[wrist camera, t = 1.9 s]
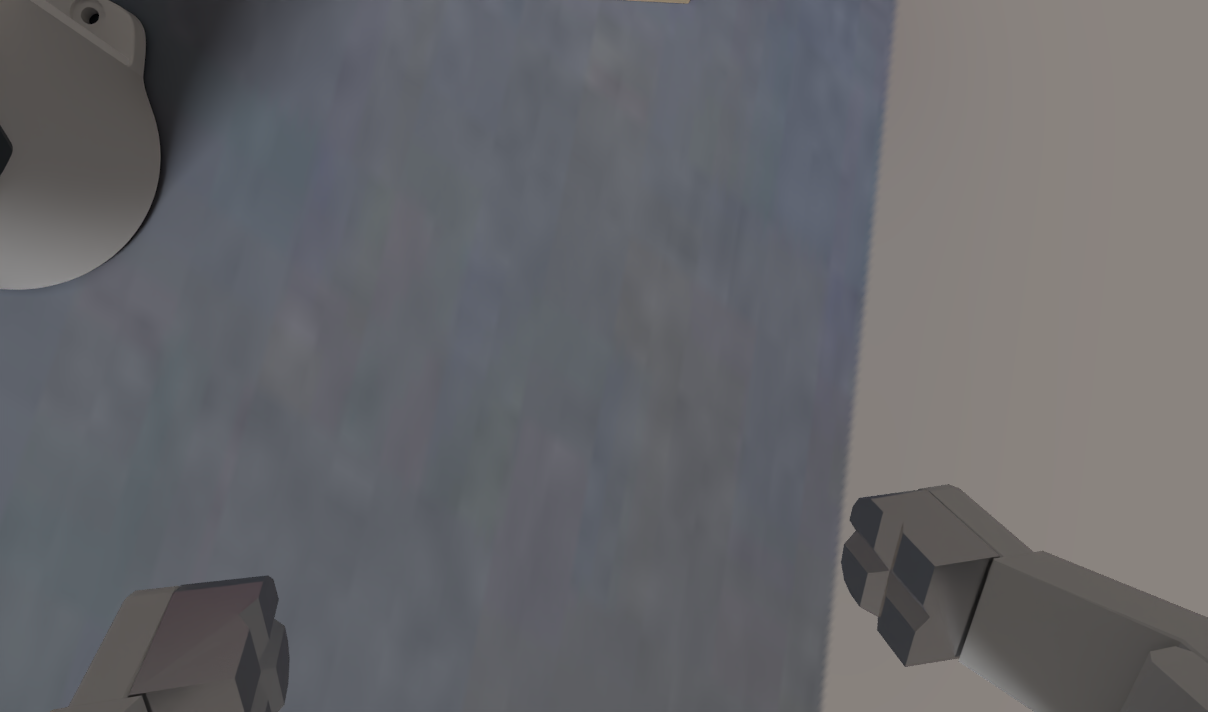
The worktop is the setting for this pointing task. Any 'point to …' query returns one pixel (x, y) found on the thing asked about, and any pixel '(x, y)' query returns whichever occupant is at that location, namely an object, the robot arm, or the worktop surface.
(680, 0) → the stand
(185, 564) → the worktop surface
